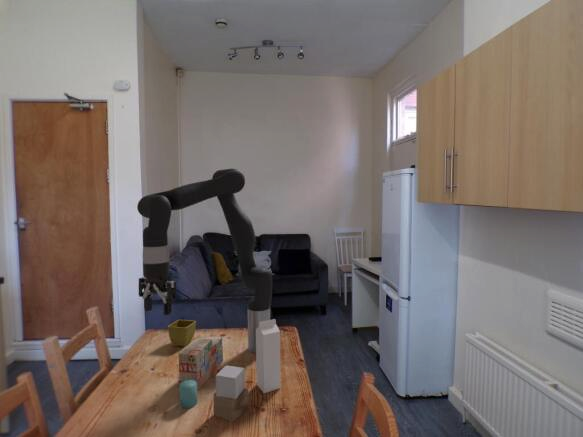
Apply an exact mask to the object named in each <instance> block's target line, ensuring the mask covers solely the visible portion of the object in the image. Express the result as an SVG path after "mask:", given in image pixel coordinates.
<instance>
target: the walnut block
mask: <svg viewBox="0 0 583 437" xmlns="http://www.w3.org/2000/svg"><path fill="white" fill-rule="evenodd" d="M212 396H213V397H212V398H213V415H214V416H217V417H219V418H221V419H223V420H226V421H227V422H230V423H233V422H235V421H236V420H237V419H239V418H240V417H241V416H242V415H243V414H244V413H246V412H248V410H249V389H248V388H246V387H245V388H244V390H243V391H242V392H241V393H240V395H239V396H238V397H237V398H236V399H231V398H226V397H220V396H216V392H215V393H214V394H213V395H212Z"/></svg>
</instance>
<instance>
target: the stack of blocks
mask: <svg viewBox="0 0 583 437" xmlns="http://www.w3.org/2000/svg"><path fill="white" fill-rule="evenodd" d="M223 361H224V349H223V337H219V336H218V337H217V336H215V337H214V336H206V337H205V338H195V339H194V340H193V341H191V342H190V343H189V345H188V344H187V345H186V346H185V348H183V349H182V350H181V351H180V352H179V353H178V375H179V381H178V382H179V385H180V384H181V383H182V382H184V381H187V380H194V381H196V382H197V391H199V389H200V388H201V387H202V386H203V385H204V384H205V383H206V382H207V381H208V380H209V378H210V377H211V375H212V374H213V373H214V372H215V371H216V370H217V369H218V368H219V366H220V365H221V364H222V363H223Z"/></svg>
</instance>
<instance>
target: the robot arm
mask: <svg viewBox="0 0 583 437" xmlns="http://www.w3.org/2000/svg"><path fill="white" fill-rule="evenodd" d="M245 184H246V178H245V175H244V173H243V172H242V171H241V170H240V169H238V168H227V169H226V168H225V169H219V170H216V171H215V172H214V173H213V175H212V177H211V179H206V180H202V181H197V182H192V183H189V184H188V183H187V184H184V185H181V186H177V187H174V188H172V189H169V190H166V191H161V192H156V193H152V194H148V195H145V196H143V197H141V198H140V199H139V201H138V203H137V211H138V213H139V214H140V216H142V217H143V218H147V219H148V226H146V227H144V229H143V230H142V246H143V247H142V276H143V277H139V278H138V297H142V300H143V305H144V307H143V308H144V311H145V312H150V311H152V310H153V298H152V297H153V295H154V294H155V295H158V297H159V298H160V299H161V300H162V302H163V315H164V316H168V315H171V313H172V307H173V306H172V302H174V301H176V300H177V299H178V298H177V296H178V294H177V284H176V283H177V282H176V280H169V279H168V276H169V275H170V252H169V245H168V244H169V243H168V240H169V239H168V230H169V226H170V221H171V216H172V211H179V210H183V209H186V208H188V207H192V206H195V205H196V204H199V203H202V202H203V201H207V200H210V199H213V198H216V197H217V199H218V202H219V204H220V207H221V209H222V212H223V215H224V219H225V221H226V225H227V228H228V230H229V234H230V237H231V241H232V244H233V247H234V250H235V253H236V256H237V260H238V263H239V269H240V274H241V278H242V282H243V286H244V287H245V288H246V289H247V290H249V291H252V292H254V298H251V299H249V300H248V302H247V346H248V347H247V350H248V352H249V353H252V354H255V355H256V329H257V328H258V327H259V323H260V322H263V321H268V320H271V303H272V298H273V277H272V274H271V272H270V271H268V270H266V269H263V268H258V267H257V264H256V262H255V258H254V251H255V248H256V241H257V240H256V237H257V236H256V232H255V229H254V226H253V223H252V221H251V219H250V218H249V216H248V215H247V214H246V213H245V211H244V210H243V209H242V208H241V206H240V205H239V203H238V202H237V200H236V199H237V198H236V197H235V196H236V195H235V194H238V193H240V192H241V191H242V190H243V189H244V187H245Z"/></svg>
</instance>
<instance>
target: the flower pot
mask: <svg viewBox="0 0 583 437" xmlns="http://www.w3.org/2000/svg"><path fill="white" fill-rule="evenodd" d="M196 325H197V321H196V320H191V319H189V320H188V319H177V320H175V321H174V322H173V323H172V322H171V323H170V324H169V325H168V326H167V332H168V337H169V340H170V342H171V344H172V345H173V346H176V347H177V346H178V347H187V346H188V344H191V343H192V340H193V338H194V336H195V333H196Z"/></svg>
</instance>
